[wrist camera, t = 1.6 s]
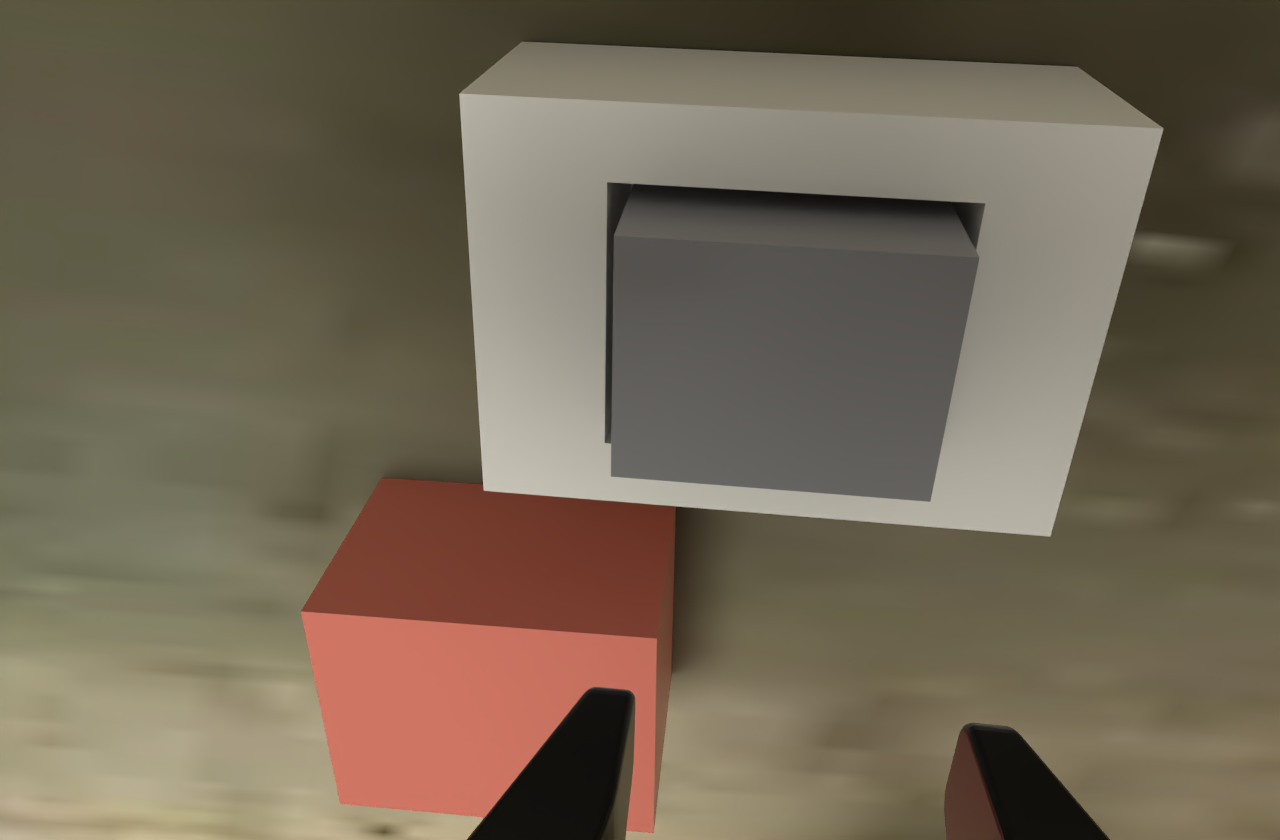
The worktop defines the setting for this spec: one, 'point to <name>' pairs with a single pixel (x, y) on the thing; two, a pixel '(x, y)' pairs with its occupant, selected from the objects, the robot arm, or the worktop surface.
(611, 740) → the robot arm
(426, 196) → the worktop surface
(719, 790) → the worktop surface
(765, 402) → the button
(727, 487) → the box
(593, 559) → the salmon red block
